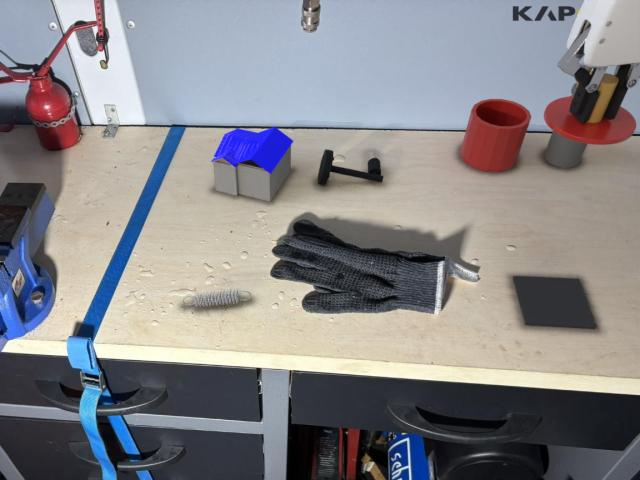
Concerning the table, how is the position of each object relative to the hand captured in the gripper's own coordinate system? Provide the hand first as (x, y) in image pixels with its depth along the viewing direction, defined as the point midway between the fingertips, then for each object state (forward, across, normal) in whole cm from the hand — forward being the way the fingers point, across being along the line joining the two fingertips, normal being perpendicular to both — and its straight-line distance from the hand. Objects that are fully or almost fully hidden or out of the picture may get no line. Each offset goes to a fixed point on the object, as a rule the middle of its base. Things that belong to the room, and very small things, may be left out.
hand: (591, 114), depth 73 cm
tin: (+23, -4, -25) cm, 34 cm away
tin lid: (+1, 0, 0) cm, 1 cm away
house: (+23, +38, -27) cm, 52 cm away
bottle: (+23, -16, -22) cm, 36 cm away
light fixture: (+23, +21, -26) cm, 41 cm away
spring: (+23, +48, +1) cm, 53 cm away
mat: (+23, +2, +10) cm, 25 cm away
